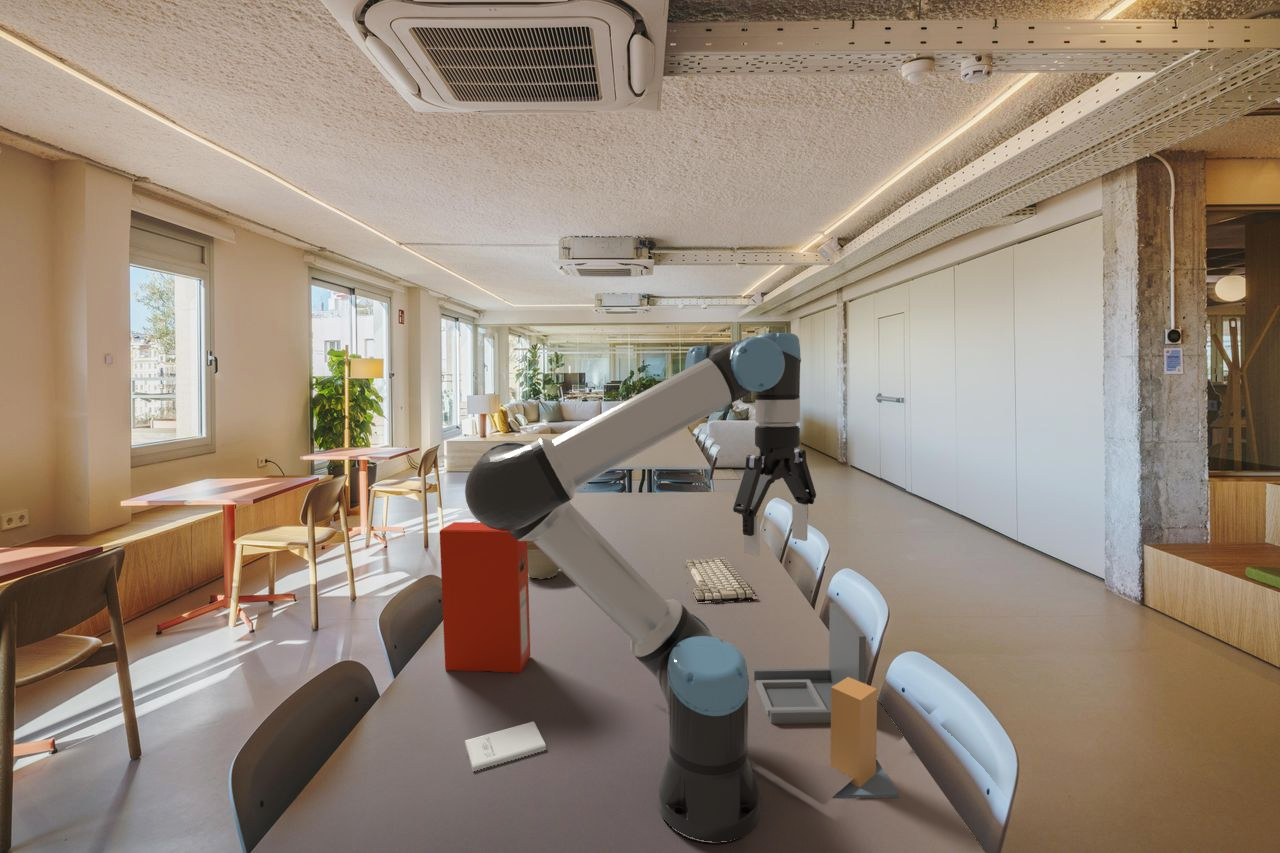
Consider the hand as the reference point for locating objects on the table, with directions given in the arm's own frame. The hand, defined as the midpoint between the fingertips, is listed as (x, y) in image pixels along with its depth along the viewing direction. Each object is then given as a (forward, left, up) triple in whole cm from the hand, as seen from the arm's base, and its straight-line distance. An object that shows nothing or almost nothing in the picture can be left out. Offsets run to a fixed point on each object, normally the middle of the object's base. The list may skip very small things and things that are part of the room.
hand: (776, 546), depth 99 cm
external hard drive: (-48, -2, -36) cm, 60 cm away
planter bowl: (-57, +91, -35) cm, 113 cm away
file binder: (-59, +29, -35) cm, 74 cm away
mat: (+10, -10, -35) cm, 37 cm away
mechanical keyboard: (0, +83, -36) cm, 90 cm away
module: (+10, -10, -34) cm, 37 cm away
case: (+8, +10, -35) cm, 37 cm away
